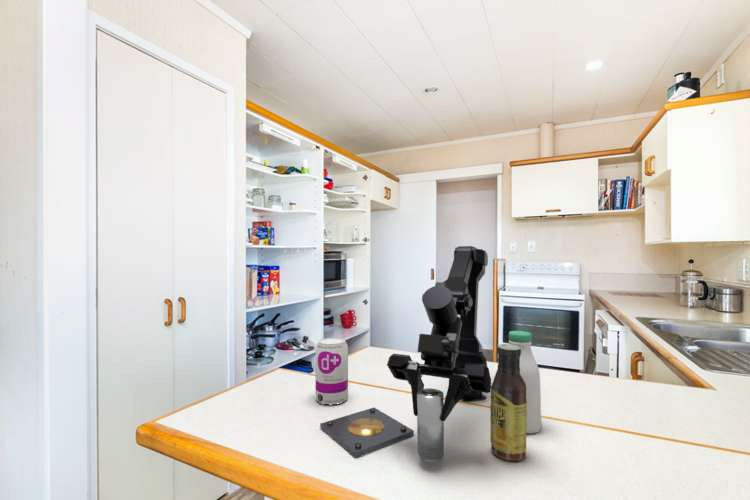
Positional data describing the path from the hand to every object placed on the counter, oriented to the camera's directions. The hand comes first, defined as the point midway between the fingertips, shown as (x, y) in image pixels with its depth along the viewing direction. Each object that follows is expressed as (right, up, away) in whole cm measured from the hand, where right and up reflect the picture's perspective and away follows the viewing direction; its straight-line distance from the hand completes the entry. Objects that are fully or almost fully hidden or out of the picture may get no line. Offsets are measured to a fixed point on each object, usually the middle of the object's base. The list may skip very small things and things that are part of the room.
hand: (428, 417), depth 62 cm
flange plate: (-11, -9, +12) cm, 19 cm away
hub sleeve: (0, -7, +1) cm, 7 cm away
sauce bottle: (+15, -9, +4) cm, 18 cm away
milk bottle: (+22, -9, +15) cm, 28 cm away
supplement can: (-20, -9, +29) cm, 37 cm away
